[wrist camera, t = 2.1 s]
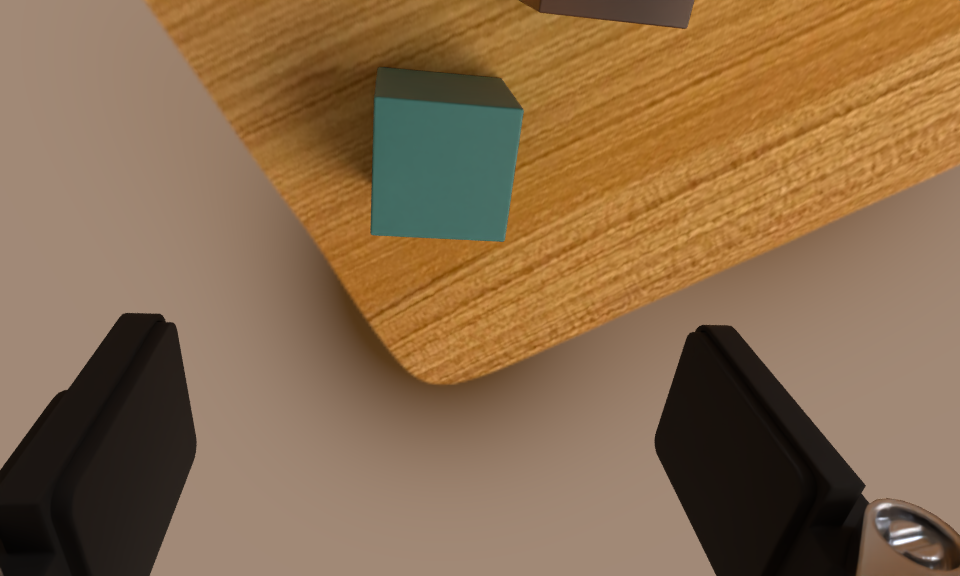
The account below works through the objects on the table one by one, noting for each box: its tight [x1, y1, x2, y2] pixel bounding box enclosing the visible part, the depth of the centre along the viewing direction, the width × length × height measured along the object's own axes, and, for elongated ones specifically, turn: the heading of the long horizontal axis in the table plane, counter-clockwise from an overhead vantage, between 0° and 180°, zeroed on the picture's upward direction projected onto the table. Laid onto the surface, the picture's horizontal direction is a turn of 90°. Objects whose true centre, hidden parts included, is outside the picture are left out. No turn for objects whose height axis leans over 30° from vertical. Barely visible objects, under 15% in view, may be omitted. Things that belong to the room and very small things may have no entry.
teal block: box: [371, 67, 524, 242], centre depth 24 cm, size 5×5×5 cm
